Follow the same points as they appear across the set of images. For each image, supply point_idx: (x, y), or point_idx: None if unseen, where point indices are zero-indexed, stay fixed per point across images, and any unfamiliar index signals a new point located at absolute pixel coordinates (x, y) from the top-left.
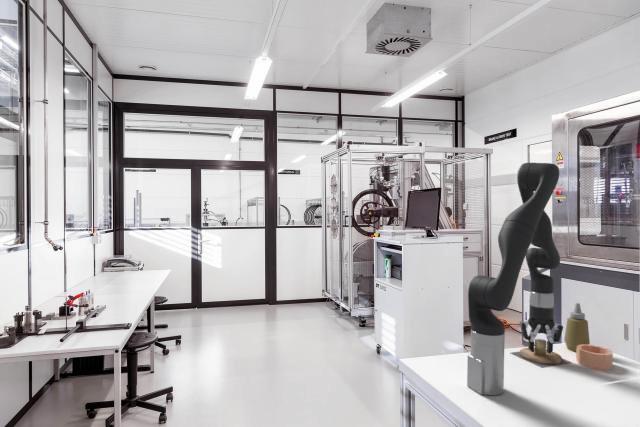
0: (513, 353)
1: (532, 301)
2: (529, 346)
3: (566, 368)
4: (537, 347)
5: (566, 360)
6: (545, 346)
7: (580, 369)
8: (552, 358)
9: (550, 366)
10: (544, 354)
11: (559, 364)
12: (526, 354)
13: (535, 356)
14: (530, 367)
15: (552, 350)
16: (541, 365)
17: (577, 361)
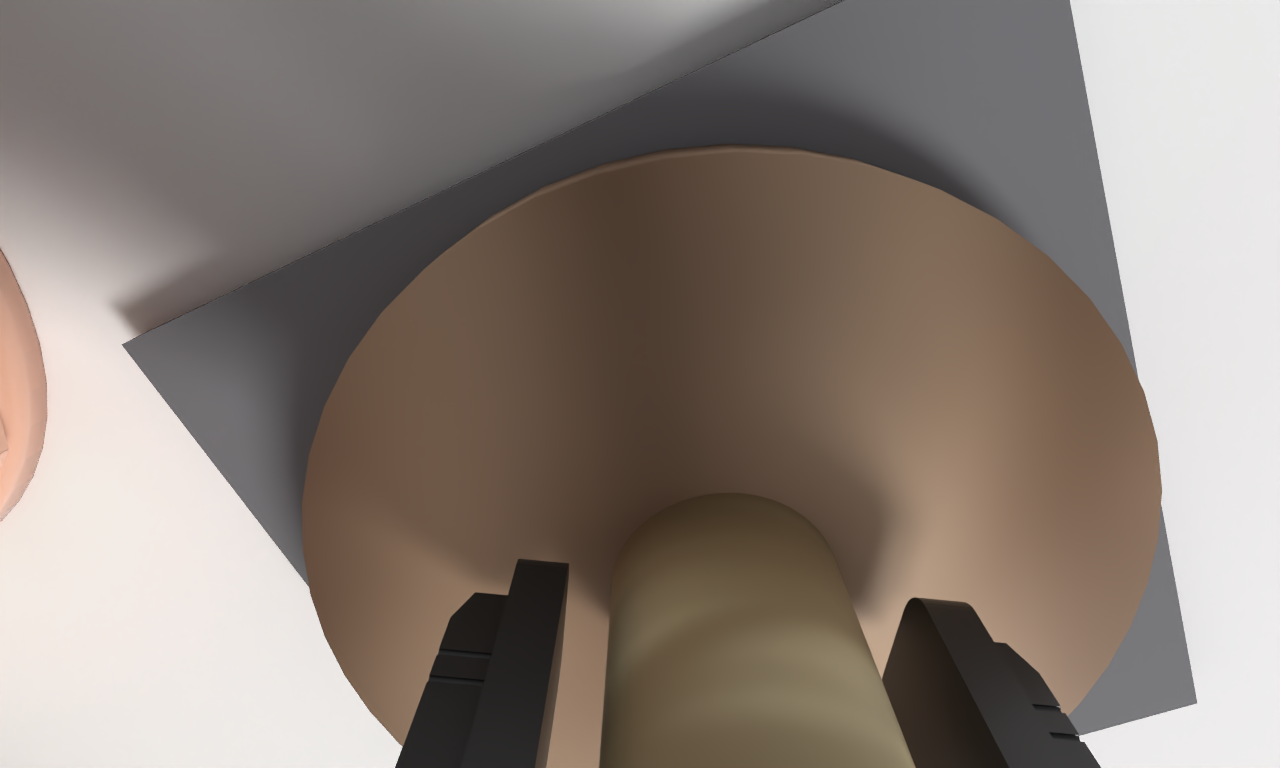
0: (1141, 682)
1: None
2: (1064, 733)
3: (364, 54)
4: (880, 679)
5: (228, 450)
6: (665, 689)
7: (45, 27)
8: (558, 373)
9: (750, 46)
10: (687, 521)
11: (467, 200)
12: (1057, 555)
13: (921, 457)
14: (1250, 13)
15: (457, 619)
16: (960, 76)
17: (6, 391)
